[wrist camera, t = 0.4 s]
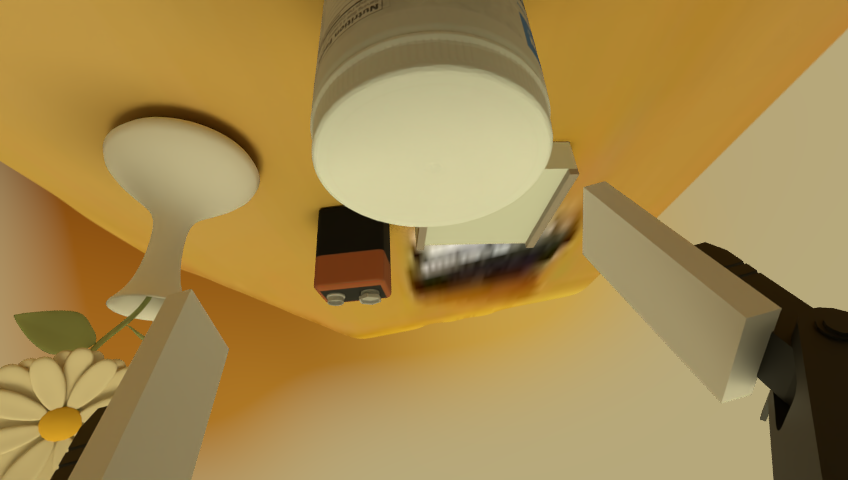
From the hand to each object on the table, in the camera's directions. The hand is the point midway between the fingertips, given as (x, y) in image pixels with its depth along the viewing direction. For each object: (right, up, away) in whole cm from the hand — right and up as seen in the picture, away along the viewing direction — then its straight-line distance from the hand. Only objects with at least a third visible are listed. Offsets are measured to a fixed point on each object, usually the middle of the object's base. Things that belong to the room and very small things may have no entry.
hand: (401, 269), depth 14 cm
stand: (+7, +6, +28) cm, 30 cm away
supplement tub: (0, +17, +10) cm, 19 cm away
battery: (-7, +4, +32) cm, 33 cm away
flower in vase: (-19, +9, +21) cm, 30 cm away
